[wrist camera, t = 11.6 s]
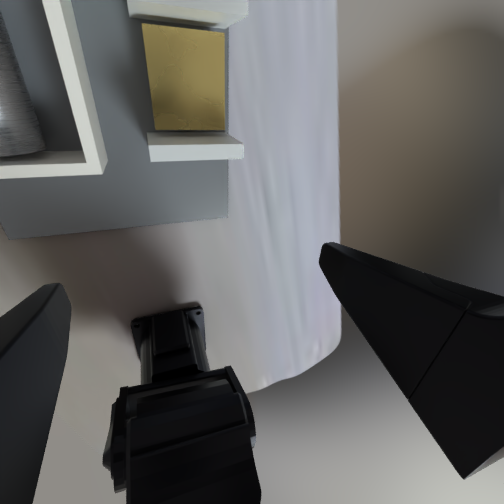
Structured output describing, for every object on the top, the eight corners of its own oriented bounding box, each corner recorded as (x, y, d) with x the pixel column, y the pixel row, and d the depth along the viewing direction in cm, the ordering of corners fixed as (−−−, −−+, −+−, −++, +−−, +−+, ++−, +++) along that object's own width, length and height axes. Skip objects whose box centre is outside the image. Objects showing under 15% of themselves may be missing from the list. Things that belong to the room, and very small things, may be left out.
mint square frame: (226, 214, 22) (243, 241, 18) (12, 235, 17) (-21, 277, 14) (225, -183, 12) (263, -299, 8) (-284, -371, 7) (-698, -811, 4)
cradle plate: (220, 127, 17) (224, 129, 16) (154, 127, 16) (155, 129, 15) (219, 35, 15) (224, 32, 14) (141, 26, 13) (141, 23, 13)
